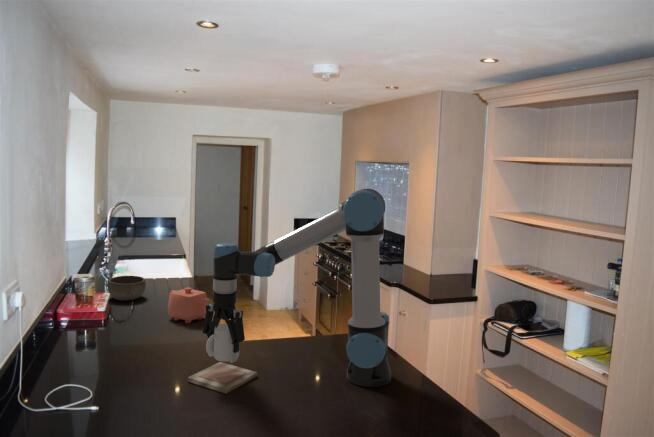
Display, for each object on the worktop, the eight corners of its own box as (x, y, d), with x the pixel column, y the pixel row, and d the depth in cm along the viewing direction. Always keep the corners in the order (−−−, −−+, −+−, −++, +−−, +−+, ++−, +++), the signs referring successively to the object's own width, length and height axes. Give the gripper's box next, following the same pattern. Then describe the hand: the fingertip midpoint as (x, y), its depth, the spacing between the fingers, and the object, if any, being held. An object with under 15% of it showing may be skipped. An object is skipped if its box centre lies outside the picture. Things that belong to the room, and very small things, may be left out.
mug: (212, 366, 167) (213, 335, 166) (198, 359, 173) (199, 328, 172) (243, 358, 175) (244, 328, 174) (229, 350, 181) (230, 321, 180)
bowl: (138, 304, 256) (138, 283, 255) (101, 302, 256) (101, 282, 255) (150, 295, 273) (150, 276, 272) (116, 293, 274) (116, 274, 272)
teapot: (217, 320, 236) (217, 289, 235) (197, 327, 225) (197, 295, 224) (180, 311, 247) (181, 282, 245) (160, 318, 236) (160, 287, 234)
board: (257, 376, 178) (257, 371, 177) (226, 393, 164) (226, 388, 163) (220, 365, 185) (220, 361, 185) (187, 381, 171) (187, 376, 171)
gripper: (258, 294, 169) (255, 362, 172) (207, 283, 179) (206, 348, 182) (243, 298, 163) (241, 369, 165) (192, 287, 173) (190, 354, 175)
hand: (222, 358), depth 174 cm, fingers closed on mug, 8 cm apart
